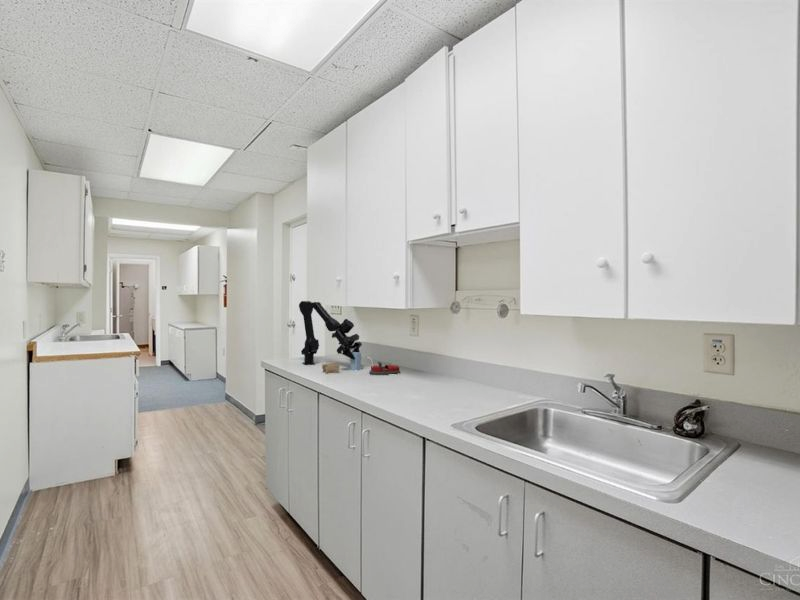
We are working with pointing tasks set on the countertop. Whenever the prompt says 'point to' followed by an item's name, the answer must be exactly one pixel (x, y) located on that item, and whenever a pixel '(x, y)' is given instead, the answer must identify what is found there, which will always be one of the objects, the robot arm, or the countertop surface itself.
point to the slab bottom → (330, 371)
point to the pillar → (355, 361)
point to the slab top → (330, 366)
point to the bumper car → (383, 369)
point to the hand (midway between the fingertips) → (357, 358)
